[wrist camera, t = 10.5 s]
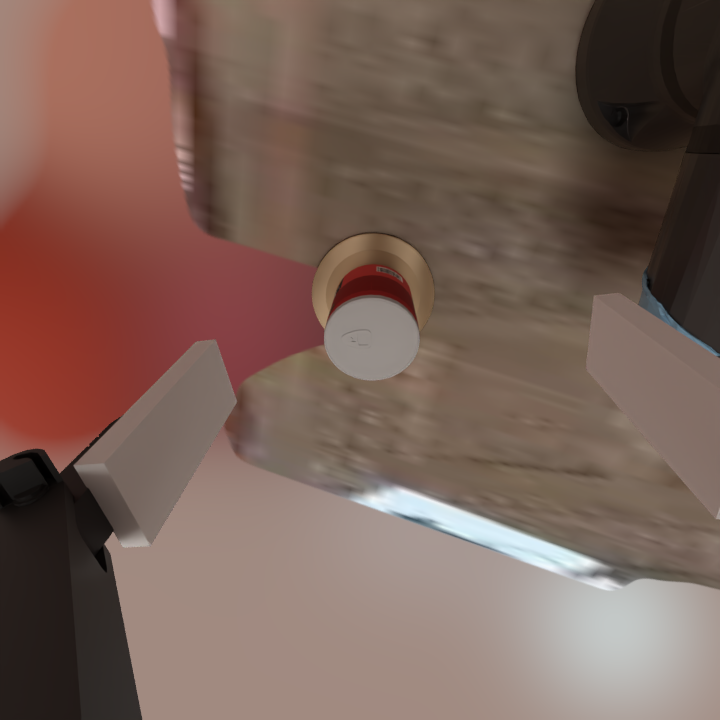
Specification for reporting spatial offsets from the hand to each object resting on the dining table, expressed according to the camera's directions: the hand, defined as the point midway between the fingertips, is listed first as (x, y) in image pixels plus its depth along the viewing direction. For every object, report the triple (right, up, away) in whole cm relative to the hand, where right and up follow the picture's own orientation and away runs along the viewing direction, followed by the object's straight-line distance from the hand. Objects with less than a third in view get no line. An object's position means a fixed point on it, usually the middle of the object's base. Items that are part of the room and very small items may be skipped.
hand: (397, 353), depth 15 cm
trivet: (0, +7, +30) cm, 30 cm away
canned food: (0, +6, +29) cm, 30 cm away
